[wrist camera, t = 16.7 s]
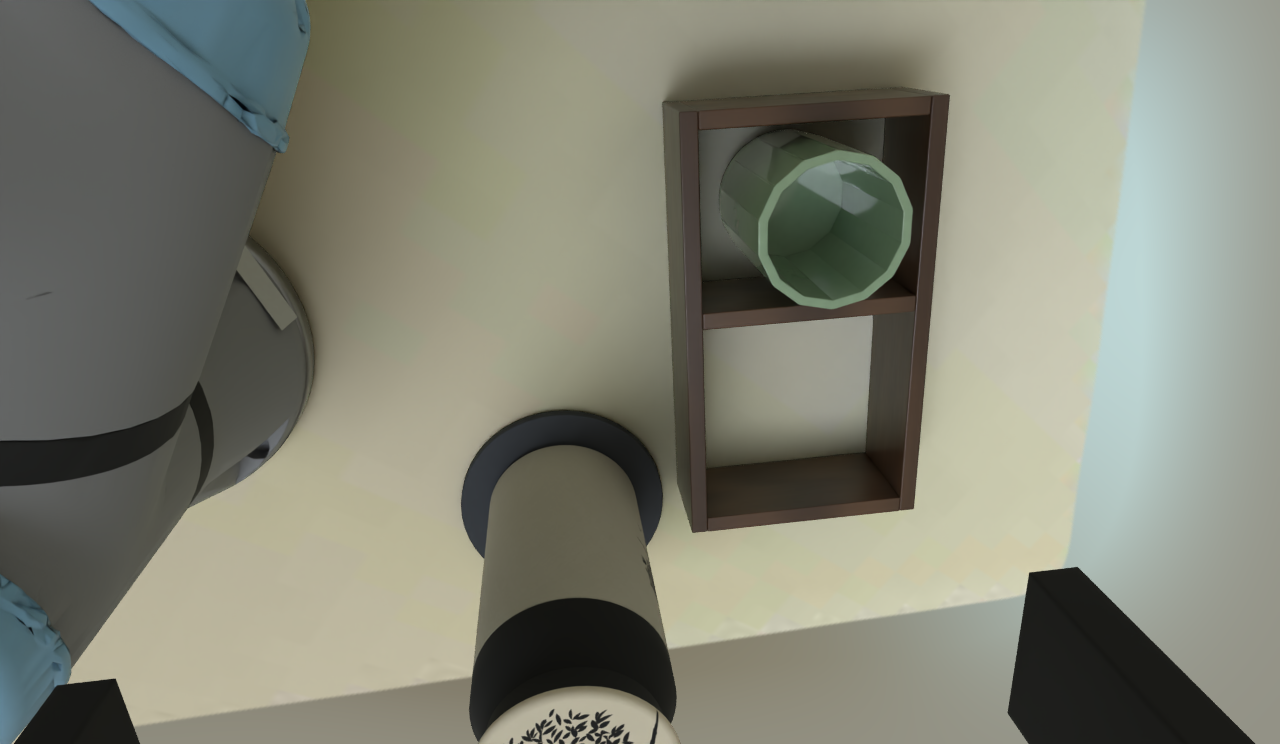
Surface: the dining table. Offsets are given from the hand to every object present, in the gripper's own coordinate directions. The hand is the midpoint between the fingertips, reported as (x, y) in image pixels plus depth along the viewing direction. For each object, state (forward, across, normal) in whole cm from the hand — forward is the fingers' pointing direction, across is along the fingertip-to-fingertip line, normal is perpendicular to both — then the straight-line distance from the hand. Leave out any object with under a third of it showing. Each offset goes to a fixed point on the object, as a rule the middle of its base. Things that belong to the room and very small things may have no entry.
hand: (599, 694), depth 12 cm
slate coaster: (+31, -1, -15) cm, 34 cm away
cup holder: (+31, +11, -4) cm, 33 cm away
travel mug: (+30, -1, -15) cm, 34 cm away
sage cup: (+31, +11, +1) cm, 33 cm away
